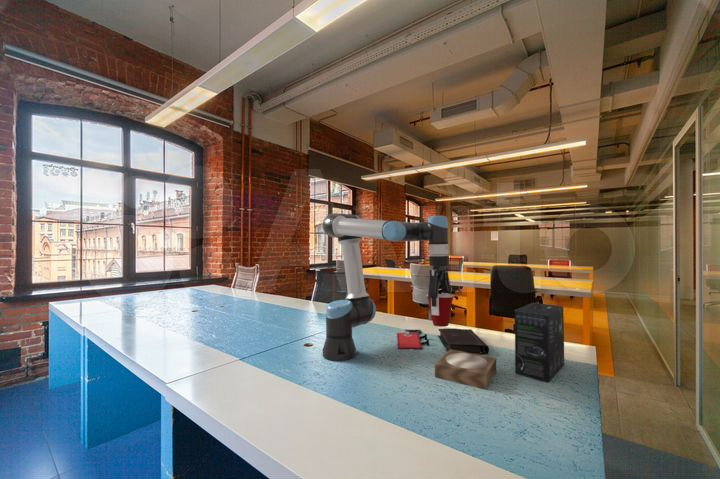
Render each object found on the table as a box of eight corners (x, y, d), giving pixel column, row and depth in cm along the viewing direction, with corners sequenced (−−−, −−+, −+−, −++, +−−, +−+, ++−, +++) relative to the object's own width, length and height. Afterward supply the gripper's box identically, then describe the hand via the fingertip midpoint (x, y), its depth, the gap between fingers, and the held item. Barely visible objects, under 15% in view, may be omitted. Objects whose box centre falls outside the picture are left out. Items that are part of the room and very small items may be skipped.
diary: (472, 338, 162) (472, 328, 162) (489, 356, 137) (489, 344, 137) (436, 337, 163) (436, 327, 163) (446, 354, 138) (446, 343, 138)
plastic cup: (457, 322, 123) (456, 292, 123) (453, 329, 113) (452, 296, 113) (430, 320, 127) (429, 291, 128) (423, 327, 118) (422, 295, 118)
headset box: (532, 357, 133) (532, 297, 133) (565, 365, 124) (564, 300, 124) (513, 373, 117) (512, 305, 117) (549, 383, 109) (548, 310, 109)
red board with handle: (423, 331, 173) (396, 331, 174) (423, 326, 173) (396, 326, 174) (430, 351, 143) (398, 350, 144) (430, 345, 143) (398, 344, 144)
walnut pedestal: (435, 377, 115) (434, 363, 115) (450, 361, 130) (450, 348, 130) (486, 389, 105) (486, 374, 105) (496, 370, 119) (496, 357, 119)
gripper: (437, 256, 109) (439, 319, 109) (457, 254, 128) (459, 307, 128) (417, 256, 113) (419, 317, 113) (440, 254, 132) (441, 305, 132)
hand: (440, 312), depth 120 cm, fingers closed on plastic cup, 11 cm apart
